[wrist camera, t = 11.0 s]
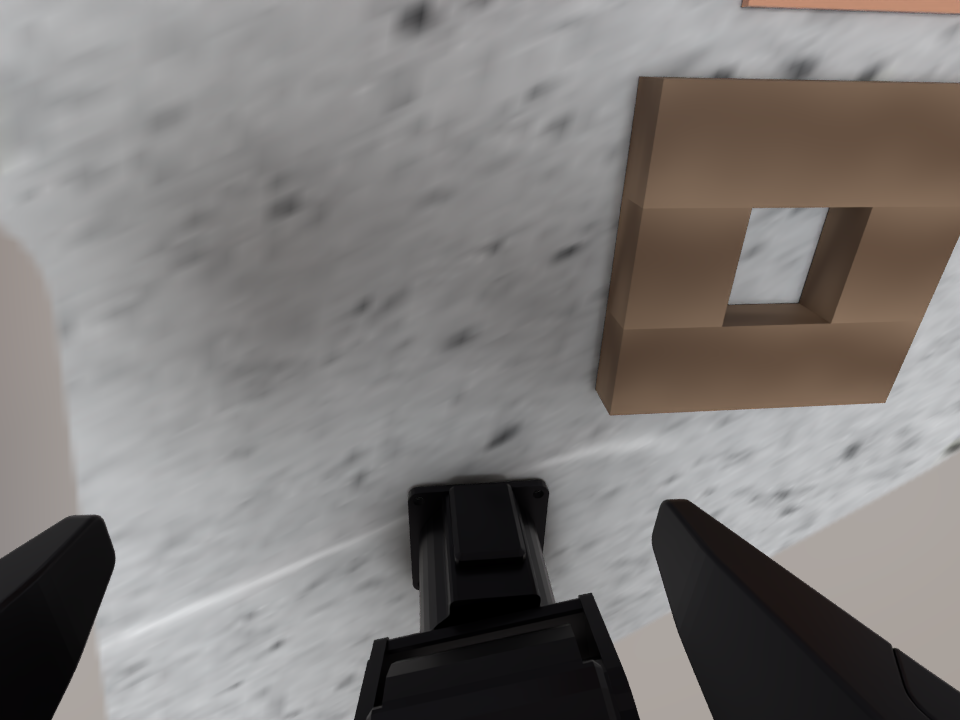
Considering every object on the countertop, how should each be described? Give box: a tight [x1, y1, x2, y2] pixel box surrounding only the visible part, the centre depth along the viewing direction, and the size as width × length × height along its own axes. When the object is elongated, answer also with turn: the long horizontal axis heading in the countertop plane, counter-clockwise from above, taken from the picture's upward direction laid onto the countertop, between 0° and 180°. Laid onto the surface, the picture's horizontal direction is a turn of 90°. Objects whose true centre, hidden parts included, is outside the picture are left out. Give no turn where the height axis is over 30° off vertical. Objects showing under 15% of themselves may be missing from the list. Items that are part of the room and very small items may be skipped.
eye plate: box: [595, 77, 960, 415], centre depth 21 cm, size 12×12×2 cm
